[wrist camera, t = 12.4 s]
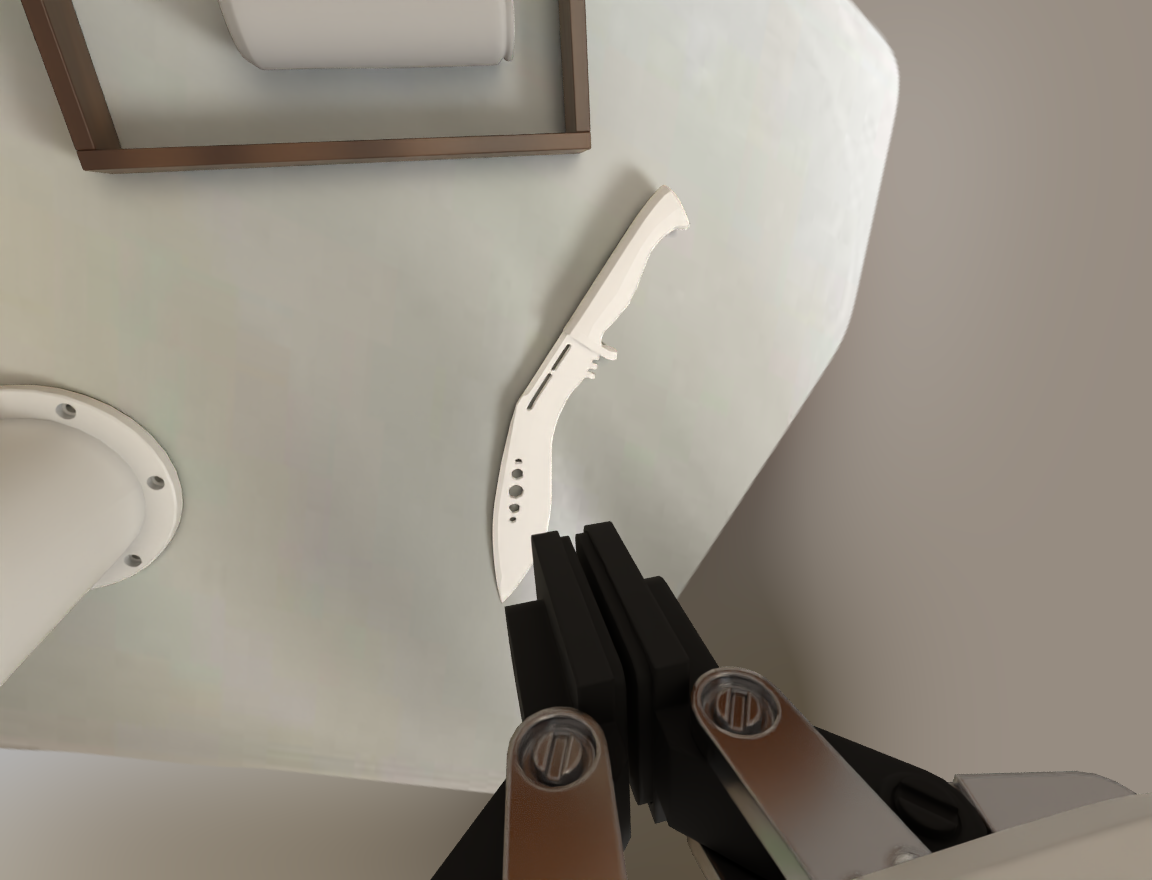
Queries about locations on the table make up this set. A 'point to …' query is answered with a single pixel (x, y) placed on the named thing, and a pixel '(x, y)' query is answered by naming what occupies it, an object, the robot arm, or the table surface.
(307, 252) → the table surface
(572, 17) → the walnut frame
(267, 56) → the beverage can
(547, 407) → the knife
